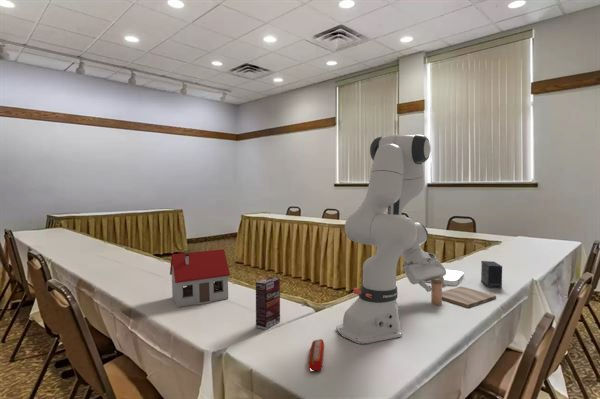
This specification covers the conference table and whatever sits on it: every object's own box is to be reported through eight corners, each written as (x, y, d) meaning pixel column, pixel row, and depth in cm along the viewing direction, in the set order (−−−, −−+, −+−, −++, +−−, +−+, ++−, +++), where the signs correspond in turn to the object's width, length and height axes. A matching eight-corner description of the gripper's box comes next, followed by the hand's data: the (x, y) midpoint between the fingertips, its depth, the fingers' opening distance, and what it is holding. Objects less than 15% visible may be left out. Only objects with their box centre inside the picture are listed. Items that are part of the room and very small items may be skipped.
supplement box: (266, 330, 115) (265, 284, 114) (255, 327, 118) (254, 282, 117) (281, 321, 122) (280, 278, 122) (270, 319, 125) (269, 276, 124)
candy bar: (312, 345, 104) (312, 336, 104) (324, 346, 104) (324, 336, 104) (307, 375, 88) (307, 363, 88) (322, 375, 88) (321, 364, 88)
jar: (437, 305, 136) (437, 281, 135) (428, 302, 139) (428, 278, 139) (444, 303, 138) (444, 279, 138) (435, 301, 142) (435, 277, 141)
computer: (422, 271, 193) (422, 266, 192) (464, 276, 180) (464, 271, 180) (410, 280, 175) (409, 274, 175) (456, 287, 162) (456, 281, 162)
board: (468, 307, 133) (468, 304, 133) (433, 296, 147) (433, 294, 147) (496, 298, 144) (496, 295, 144) (461, 288, 157) (461, 286, 157)
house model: (226, 289, 163) (225, 246, 163) (231, 302, 144) (230, 253, 144) (171, 295, 156) (169, 250, 155) (168, 309, 136) (166, 258, 136)
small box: (503, 288, 158) (503, 265, 157) (487, 287, 159) (487, 265, 159) (494, 282, 168) (495, 261, 168) (480, 281, 169) (480, 260, 169)
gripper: (405, 259, 139) (425, 289, 131) (437, 253, 149) (457, 280, 141) (396, 268, 143) (415, 297, 135) (428, 261, 153) (447, 288, 145)
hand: (437, 288), depth 138 cm, fingers open, 8 cm apart
